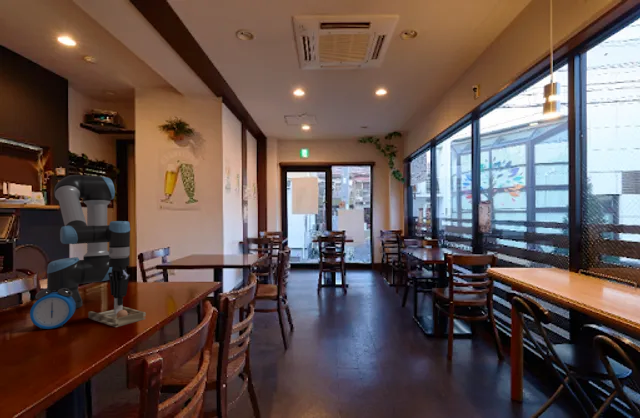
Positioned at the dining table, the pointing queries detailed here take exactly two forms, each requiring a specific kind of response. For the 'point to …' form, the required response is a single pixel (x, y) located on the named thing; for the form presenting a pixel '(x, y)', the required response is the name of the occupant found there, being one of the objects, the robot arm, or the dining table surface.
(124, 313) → the ball
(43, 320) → the alarm clock
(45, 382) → the dining table surface
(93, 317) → the lane
